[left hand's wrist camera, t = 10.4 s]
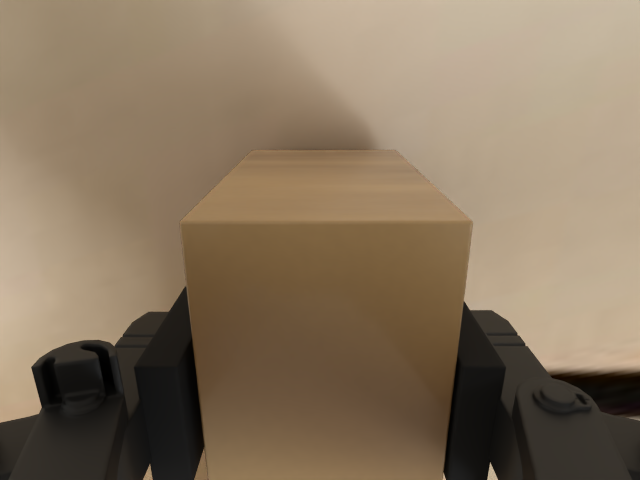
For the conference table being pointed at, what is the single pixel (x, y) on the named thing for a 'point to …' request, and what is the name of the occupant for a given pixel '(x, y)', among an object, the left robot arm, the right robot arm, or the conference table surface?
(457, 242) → the bar
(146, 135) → the conference table surface
